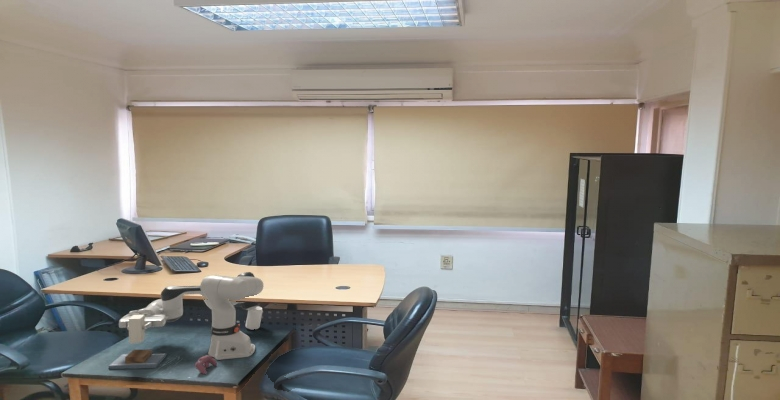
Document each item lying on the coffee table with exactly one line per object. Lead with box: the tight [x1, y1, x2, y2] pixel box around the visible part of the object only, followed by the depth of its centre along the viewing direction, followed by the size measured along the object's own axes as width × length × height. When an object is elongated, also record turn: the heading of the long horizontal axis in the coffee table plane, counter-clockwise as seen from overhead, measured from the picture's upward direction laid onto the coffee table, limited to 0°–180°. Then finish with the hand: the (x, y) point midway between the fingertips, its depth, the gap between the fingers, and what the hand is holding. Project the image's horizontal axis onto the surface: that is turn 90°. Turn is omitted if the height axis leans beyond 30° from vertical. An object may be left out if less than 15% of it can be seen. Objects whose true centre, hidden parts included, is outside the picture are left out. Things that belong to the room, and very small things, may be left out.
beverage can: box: [245, 305, 264, 330], centre depth 240 cm, size 8×8×12 cm
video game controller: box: [194, 354, 218, 375], centre depth 188 cm, size 10×5×7 cm, turn 171°
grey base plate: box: [108, 348, 167, 370], centre depth 192 cm, size 20×12×4 cm, turn 98°
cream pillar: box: [128, 315, 146, 344], centre depth 194 cm, size 5×5×12 cm
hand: (136, 328), depth 193 cm, fingers closed on cream pillar, 5 cm apart
